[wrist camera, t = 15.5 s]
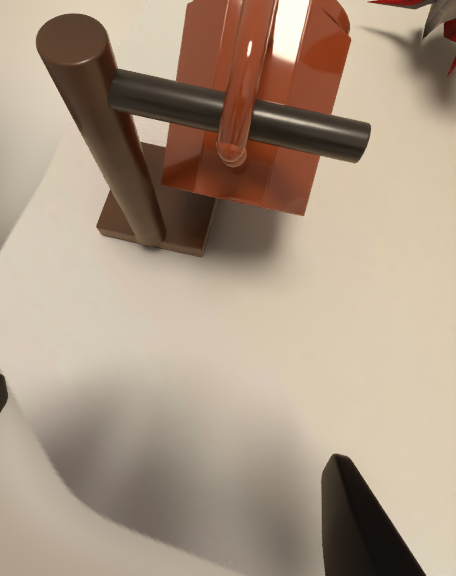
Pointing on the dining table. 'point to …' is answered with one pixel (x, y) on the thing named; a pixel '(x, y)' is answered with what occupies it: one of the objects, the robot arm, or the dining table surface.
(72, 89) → the mug rack
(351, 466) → the robot arm
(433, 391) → the dining table surface
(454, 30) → the toy spacecraft
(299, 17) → the mug
